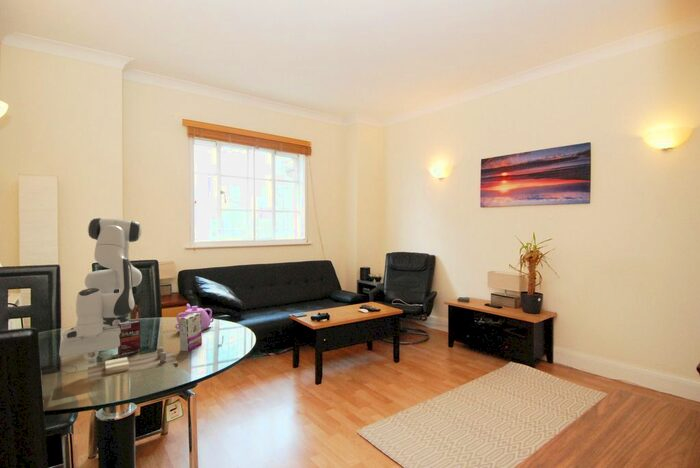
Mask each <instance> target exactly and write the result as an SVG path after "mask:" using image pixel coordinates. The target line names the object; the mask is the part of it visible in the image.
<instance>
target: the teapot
mask: <svg viewBox="0 0 700 468" xmlns="http://www.w3.org/2000/svg"><path fill="white" fill-rule="evenodd" d="M207 311H209V314H208V312H207ZM192 313H201V331H204V330H207V329H208V328H209V326H210V325H211V324H212V323H213V322H214V318H213V317H212V315H213V310H212V309H211V308H202V307H199V306H198V305H193V306H191V305H190V303H186V309H185V311H184V312H179V313H178V314H177V315H176V321H177V323H176V324H175V326H174V328H175V329H176V330H177V329H178V330H179V318H182V317H184V316H187V315H189V314H192ZM180 316H181V317H180Z"/></svg>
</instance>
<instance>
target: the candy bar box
mask: <svg viewBox="0 0 700 468" xmlns="http://www.w3.org/2000/svg"><path fill="white" fill-rule="evenodd" d="M181 317H182V316H181ZM181 317H179V325H178V327H179V329H178V330H179V346H180V352H190V351H193V350H194V349H196V348H198V347H199V346H201V345H202V344H203V340H202V338H203V336H202V335H203V334H202V330H201V313H192V314H189V315H187V316H184V317H182V318H181Z"/></svg>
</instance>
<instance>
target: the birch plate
mask: <svg viewBox="0 0 700 468" xmlns="http://www.w3.org/2000/svg"><path fill="white" fill-rule="evenodd" d="M104 364H105V369H106V374H111V373H116V372H120V371H125V370H129V362H128V357H127V356H125V357H124V356H123V357H119V358H115V359H108V360H105V361H104Z"/></svg>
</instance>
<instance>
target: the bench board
mask: <svg viewBox="0 0 700 468" xmlns="http://www.w3.org/2000/svg"><path fill="white" fill-rule="evenodd" d="M156 352H157V353H155V354H150V355H144V356H140V357H134V358H129V359H128V358H127V359H128V362H129V370H125V371H120V372H116V373H111V374H106V369H105V363H104V364H98V365H92V366H88V367H87V383H88V382H93V381H99V380H103V379H107V378H111V377H116V376H121V375H126V374H131V373H135V372H140V371H145V370H150V369H154V368H158V367H164V366H168V365H173V366H174V367H178V366H179V363H178V360H177V359H176V358H175V356H174V354H173V352H172V351H170V350H169V351H164V347H163V346H160V347H157V351H156Z"/></svg>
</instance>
